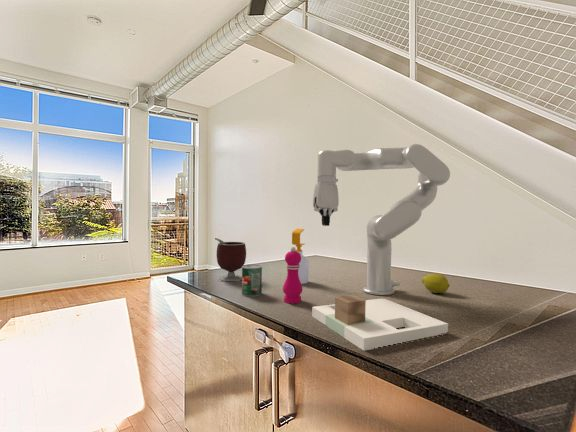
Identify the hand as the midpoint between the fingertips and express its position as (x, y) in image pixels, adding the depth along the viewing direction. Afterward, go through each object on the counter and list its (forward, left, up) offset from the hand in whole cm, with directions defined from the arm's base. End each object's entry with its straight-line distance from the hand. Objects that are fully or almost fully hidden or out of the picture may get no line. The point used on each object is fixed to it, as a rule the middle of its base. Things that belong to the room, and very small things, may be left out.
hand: (325, 225), depth 136 cm
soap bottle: (+4, -18, -27) cm, 33 cm away
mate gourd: (+32, -35, -27) cm, 54 cm away
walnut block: (+16, +42, -24) cm, 50 cm away
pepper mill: (+19, +9, -27) cm, 34 cm away
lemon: (-41, +19, -27) cm, 53 cm away
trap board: (+6, +40, -27) cm, 49 cm away
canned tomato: (+30, -6, -27) cm, 41 cm away
